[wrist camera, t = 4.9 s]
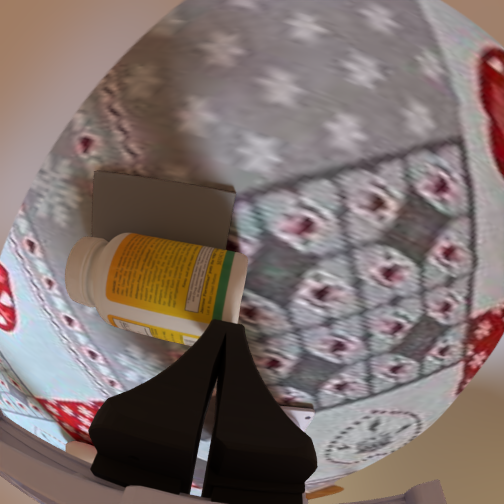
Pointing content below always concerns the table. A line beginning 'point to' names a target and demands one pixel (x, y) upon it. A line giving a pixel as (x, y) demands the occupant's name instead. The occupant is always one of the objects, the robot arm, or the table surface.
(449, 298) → the table surface
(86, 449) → the flower in vase
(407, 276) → the table surface
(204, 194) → the mat
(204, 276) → the supplement bottle
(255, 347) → the table surface
